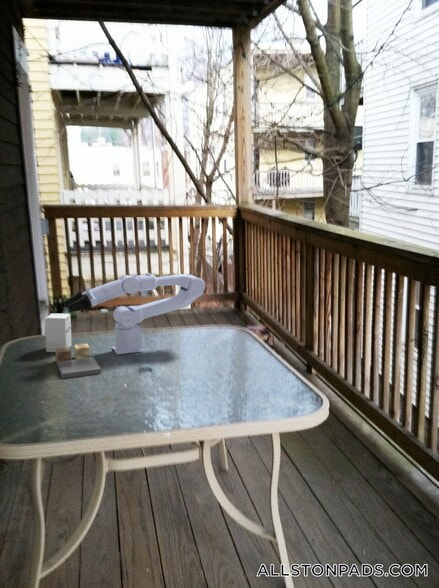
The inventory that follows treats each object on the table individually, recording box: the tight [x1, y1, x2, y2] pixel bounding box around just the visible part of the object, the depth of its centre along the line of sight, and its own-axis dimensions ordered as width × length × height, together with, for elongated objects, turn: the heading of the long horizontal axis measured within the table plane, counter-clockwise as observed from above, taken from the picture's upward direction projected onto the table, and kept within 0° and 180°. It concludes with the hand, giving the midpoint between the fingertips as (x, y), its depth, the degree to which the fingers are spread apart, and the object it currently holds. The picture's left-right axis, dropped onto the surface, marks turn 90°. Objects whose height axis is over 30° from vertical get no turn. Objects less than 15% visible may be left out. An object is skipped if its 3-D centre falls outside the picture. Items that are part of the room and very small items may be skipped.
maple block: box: [73, 343, 91, 360], centre depth 183 cm, size 4×4×4 cm
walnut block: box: [55, 347, 72, 363], centre depth 179 cm, size 4×4×4 cm
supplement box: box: [44, 313, 72, 353], centre depth 191 cm, size 7×7×13 cm
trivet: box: [56, 357, 102, 379], centre depth 172 cm, size 12×12×2 cm
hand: (66, 307), depth 180 cm, fingers open, 7 cm apart
